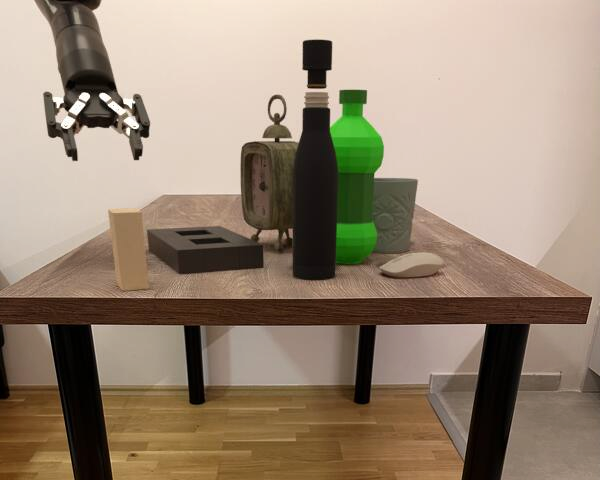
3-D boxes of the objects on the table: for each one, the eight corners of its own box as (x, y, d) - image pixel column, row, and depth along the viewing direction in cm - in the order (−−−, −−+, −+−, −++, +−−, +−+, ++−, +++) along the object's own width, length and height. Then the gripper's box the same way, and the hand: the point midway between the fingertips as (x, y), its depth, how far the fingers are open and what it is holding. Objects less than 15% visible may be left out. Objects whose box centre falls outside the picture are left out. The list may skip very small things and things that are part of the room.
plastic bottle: (386, 265, 102) (398, 89, 91) (323, 267, 100) (327, 87, 89) (368, 254, 111) (376, 92, 100) (309, 256, 109) (311, 91, 98)
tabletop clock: (242, 243, 122) (237, 95, 111) (284, 239, 126) (284, 97, 115) (274, 255, 110) (272, 92, 100) (319, 251, 114) (322, 93, 103)
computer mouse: (373, 272, 98) (374, 252, 96) (429, 267, 101) (431, 248, 99) (392, 279, 93) (393, 258, 91) (450, 275, 96) (452, 254, 94)
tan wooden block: (122, 291, 86) (113, 212, 81) (116, 284, 89) (107, 209, 85) (149, 288, 87) (141, 211, 82) (142, 282, 91) (135, 208, 86)
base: (179, 274, 96) (177, 250, 94) (148, 249, 115) (146, 229, 113) (263, 267, 101) (263, 244, 99) (221, 245, 120) (220, 225, 118)
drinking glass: (381, 255, 110) (385, 181, 105) (346, 247, 118) (348, 178, 113) (424, 250, 115) (430, 179, 110) (388, 243, 123) (392, 176, 118)
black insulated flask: (343, 277, 94) (352, 40, 81) (306, 281, 91) (309, 36, 78) (320, 269, 99) (325, 45, 86) (284, 273, 96) (283, 42, 83)
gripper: (31, 44, 88) (51, 136, 84) (135, 49, 93) (159, 136, 89) (36, 89, 95) (55, 176, 91) (132, 91, 100) (155, 174, 96)
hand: (106, 156), depth 90 cm, fingers open, 8 cm apart
